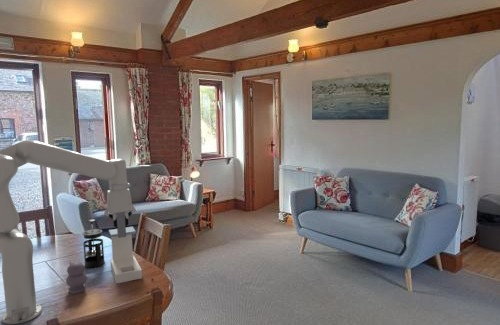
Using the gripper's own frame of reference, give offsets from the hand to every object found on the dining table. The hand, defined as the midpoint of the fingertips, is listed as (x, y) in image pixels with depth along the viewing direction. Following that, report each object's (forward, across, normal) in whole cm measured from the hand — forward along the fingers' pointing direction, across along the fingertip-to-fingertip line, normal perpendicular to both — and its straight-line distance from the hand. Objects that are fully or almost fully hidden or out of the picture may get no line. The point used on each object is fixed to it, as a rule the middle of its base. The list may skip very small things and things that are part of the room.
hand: (121, 226), depth 163 cm
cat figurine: (+24, +20, +4) cm, 31 cm away
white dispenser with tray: (+24, -1, -5) cm, 24 cm away
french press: (+24, +12, -20) cm, 34 cm away
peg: (+4, 0, 0) cm, 4 cm away
